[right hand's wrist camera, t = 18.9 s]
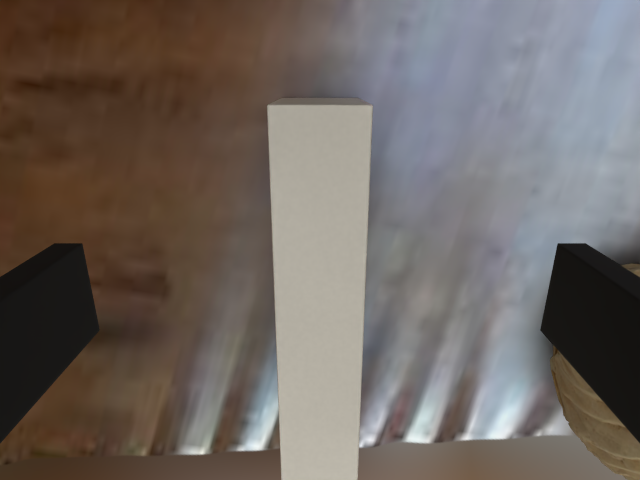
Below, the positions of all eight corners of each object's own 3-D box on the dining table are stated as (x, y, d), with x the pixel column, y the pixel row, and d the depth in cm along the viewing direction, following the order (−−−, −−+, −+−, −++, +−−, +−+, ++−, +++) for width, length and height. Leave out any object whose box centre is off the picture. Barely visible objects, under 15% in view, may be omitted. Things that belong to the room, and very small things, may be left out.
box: (280, 97, 33) (266, 104, 24) (359, 97, 33) (372, 104, 24) (289, 400, 42) (281, 481, 34) (349, 400, 42) (357, 481, 34)
